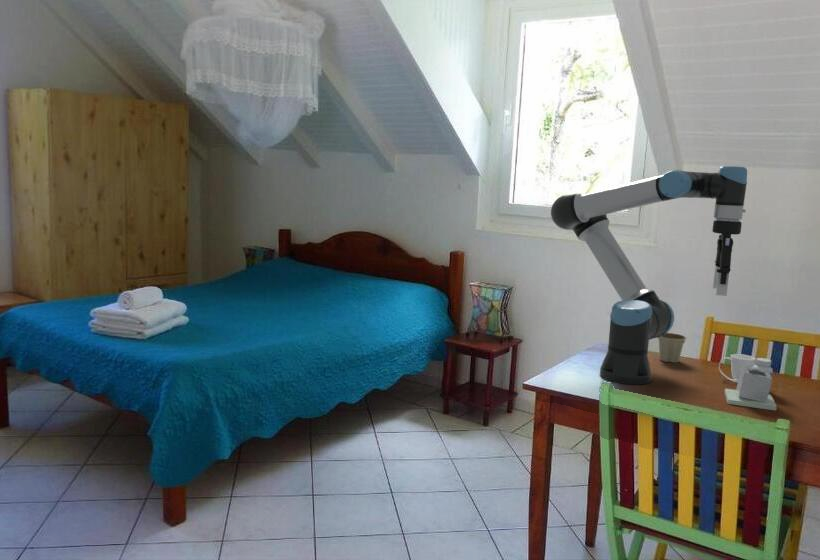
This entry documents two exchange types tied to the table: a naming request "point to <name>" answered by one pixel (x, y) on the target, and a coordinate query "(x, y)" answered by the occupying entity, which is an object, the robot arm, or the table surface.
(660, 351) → the flower pot
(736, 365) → the cup
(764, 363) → the pill bottle
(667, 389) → the table surface
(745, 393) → the hollow grey square tube
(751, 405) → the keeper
